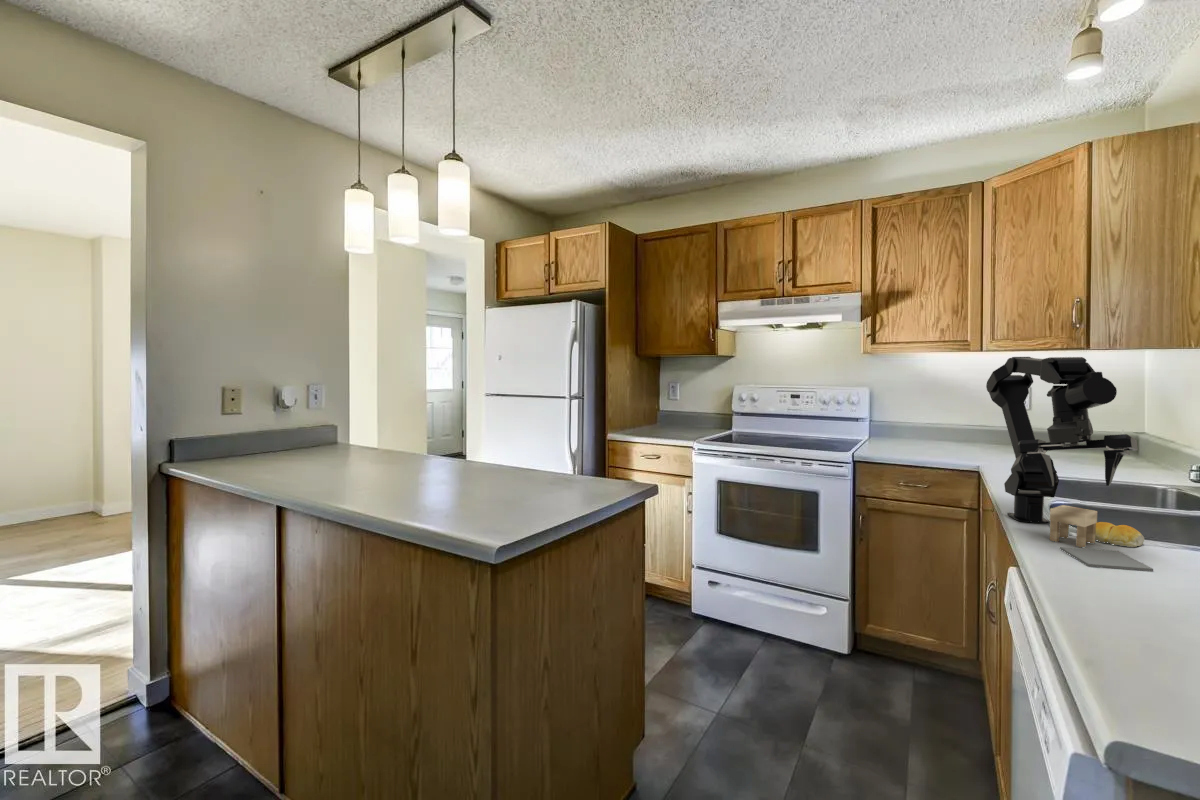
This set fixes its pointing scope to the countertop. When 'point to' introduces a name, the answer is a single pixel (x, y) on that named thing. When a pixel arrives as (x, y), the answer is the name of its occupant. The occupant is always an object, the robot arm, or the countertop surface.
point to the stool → (1073, 523)
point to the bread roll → (1118, 535)
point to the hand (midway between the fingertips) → (1079, 486)
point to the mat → (1106, 559)
